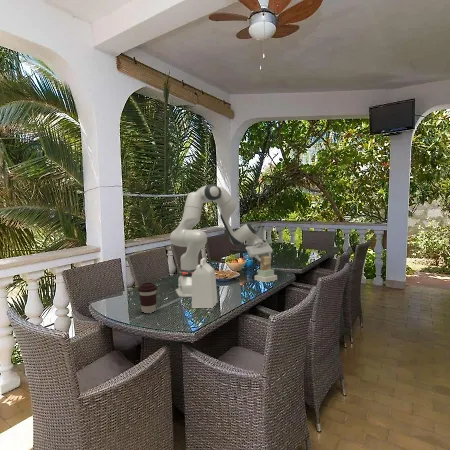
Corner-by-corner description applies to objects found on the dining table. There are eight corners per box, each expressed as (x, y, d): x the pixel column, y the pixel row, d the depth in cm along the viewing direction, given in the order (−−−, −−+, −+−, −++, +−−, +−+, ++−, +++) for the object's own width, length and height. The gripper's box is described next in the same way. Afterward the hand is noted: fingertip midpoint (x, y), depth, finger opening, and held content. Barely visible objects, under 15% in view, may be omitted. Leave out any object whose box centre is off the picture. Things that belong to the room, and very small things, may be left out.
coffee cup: (159, 308, 193) (158, 281, 191) (156, 314, 183) (155, 286, 181) (141, 309, 192) (139, 282, 191) (137, 315, 182) (135, 286, 181)
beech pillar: (270, 269, 245) (270, 256, 244) (265, 270, 242) (265, 257, 240) (265, 268, 249) (265, 255, 247) (260, 269, 245) (260, 256, 244)
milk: (212, 309, 188) (210, 261, 186) (191, 308, 191) (189, 260, 188) (217, 302, 200) (215, 256, 198) (197, 301, 202) (196, 256, 200)
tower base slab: (277, 281, 244) (277, 275, 244) (265, 284, 238) (265, 278, 237) (266, 278, 253) (265, 272, 253) (254, 281, 246) (254, 275, 246)
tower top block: (274, 275, 244) (273, 269, 244) (265, 277, 240) (265, 271, 239) (266, 273, 251) (266, 267, 250) (257, 275, 246) (257, 269, 246)
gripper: (246, 243, 243) (256, 259, 236) (268, 240, 255) (278, 255, 248) (242, 249, 247) (252, 264, 240) (263, 245, 259) (273, 260, 252)
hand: (265, 259), depth 244 cm, fingers open, 8 cm apart
